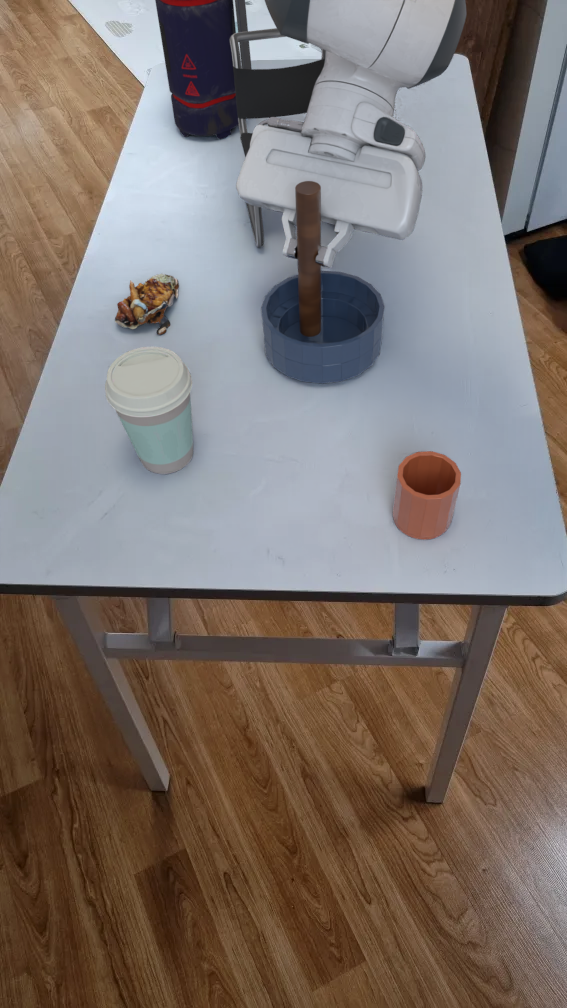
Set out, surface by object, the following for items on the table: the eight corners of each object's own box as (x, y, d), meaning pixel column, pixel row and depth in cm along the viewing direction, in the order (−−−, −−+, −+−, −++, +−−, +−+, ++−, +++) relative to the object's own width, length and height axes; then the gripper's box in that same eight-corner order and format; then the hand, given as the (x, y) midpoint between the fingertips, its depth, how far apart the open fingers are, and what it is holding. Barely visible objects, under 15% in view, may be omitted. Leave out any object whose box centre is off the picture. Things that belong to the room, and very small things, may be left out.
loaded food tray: (185, 279, 98) (181, 255, 96) (166, 336, 91) (161, 312, 88) (135, 277, 99) (130, 254, 96) (113, 333, 92) (106, 310, 89)
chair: (324, 182, 112) (324, 21, 95) (348, 244, 102) (352, 75, 84) (242, 192, 112) (227, 32, 94) (257, 256, 101) (243, 88, 84)
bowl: (386, 315, 92) (390, 275, 87) (373, 392, 83) (376, 352, 78) (277, 306, 94) (275, 266, 89) (253, 380, 85) (249, 340, 81)
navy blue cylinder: (166, 140, 123) (129, -79, 99) (187, 108, 130) (157, -104, 106) (244, 145, 121) (225, -78, 97) (261, 113, 128) (247, -103, 104)
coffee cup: (217, 434, 80) (203, 351, 71) (186, 492, 75) (166, 410, 66) (148, 419, 82) (125, 335, 73) (114, 474, 77) (84, 392, 68)
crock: (452, 496, 73) (462, 454, 68) (449, 544, 70) (459, 503, 65) (395, 489, 74) (401, 447, 69) (389, 536, 71) (394, 495, 66)
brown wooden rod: (322, 324, 87) (322, 181, 73) (319, 337, 86) (318, 195, 72) (301, 322, 88) (297, 180, 74) (297, 335, 86) (292, 193, 72)
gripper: (247, 101, 76) (212, 232, 79) (431, 135, 70) (386, 277, 73) (268, 125, 82) (235, 247, 85) (440, 159, 76) (399, 289, 79)
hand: (306, 261), depth 79 cm, fingers closed on brown wooden rod, 2 cm apart
